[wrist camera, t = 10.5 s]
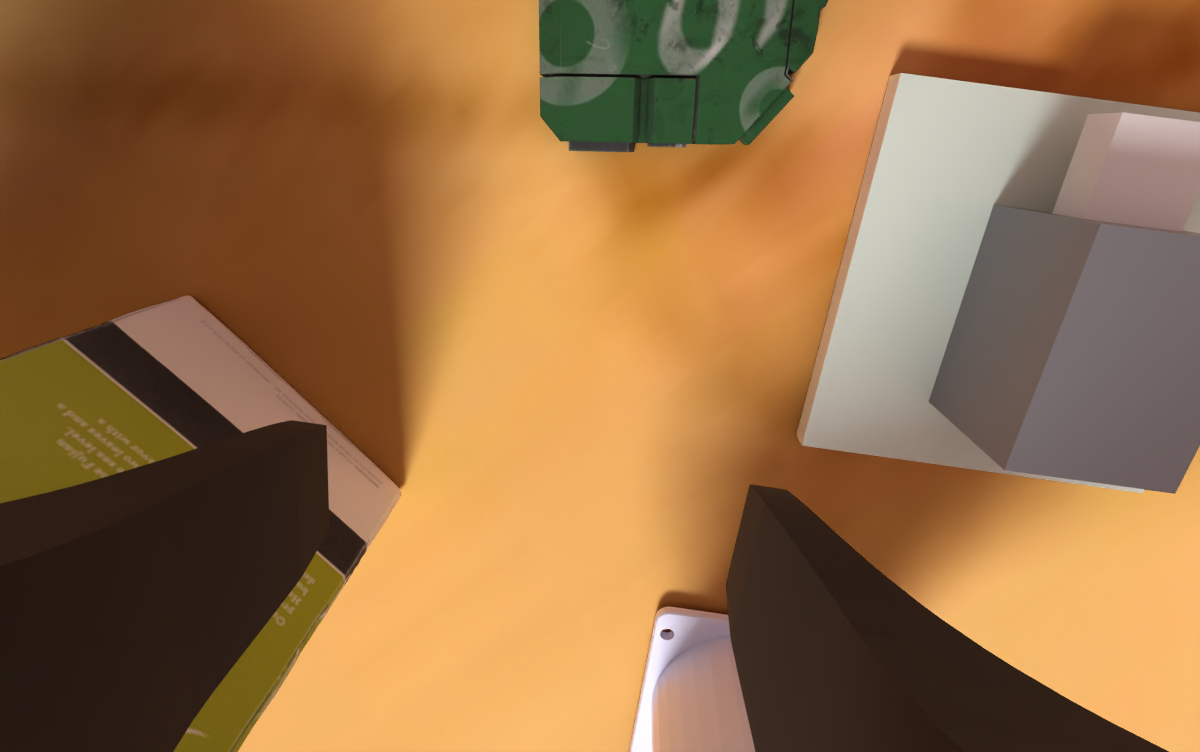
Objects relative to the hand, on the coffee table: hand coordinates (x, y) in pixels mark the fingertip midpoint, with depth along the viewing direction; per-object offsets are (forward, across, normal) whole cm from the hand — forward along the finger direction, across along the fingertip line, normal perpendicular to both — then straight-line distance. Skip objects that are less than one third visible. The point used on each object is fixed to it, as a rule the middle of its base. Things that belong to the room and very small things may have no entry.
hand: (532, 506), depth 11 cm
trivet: (+10, -13, -3) cm, 17 cm away
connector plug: (+10, -13, -4) cm, 17 cm away
